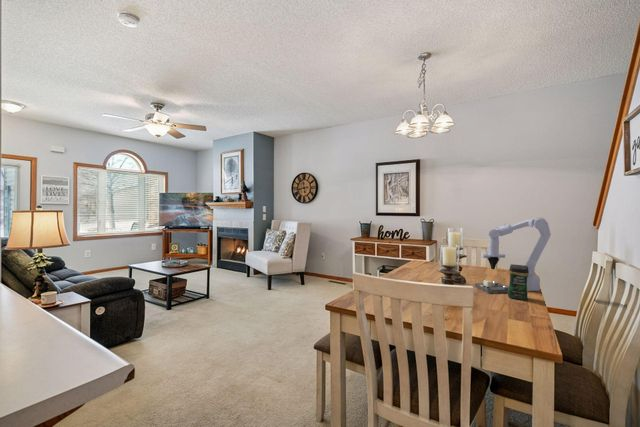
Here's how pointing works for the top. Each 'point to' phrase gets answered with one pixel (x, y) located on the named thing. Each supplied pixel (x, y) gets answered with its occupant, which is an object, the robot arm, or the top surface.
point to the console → (493, 287)
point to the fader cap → (487, 283)
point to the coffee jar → (518, 282)
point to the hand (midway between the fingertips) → (492, 268)
